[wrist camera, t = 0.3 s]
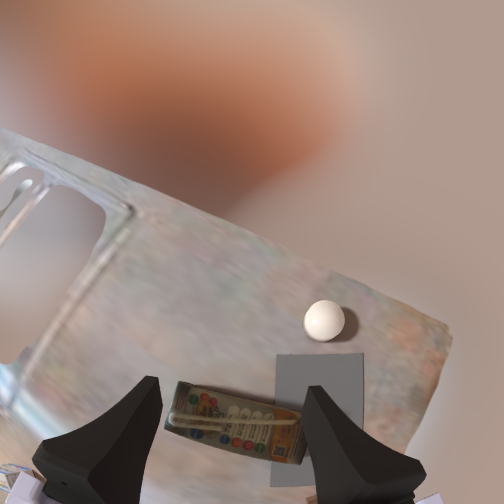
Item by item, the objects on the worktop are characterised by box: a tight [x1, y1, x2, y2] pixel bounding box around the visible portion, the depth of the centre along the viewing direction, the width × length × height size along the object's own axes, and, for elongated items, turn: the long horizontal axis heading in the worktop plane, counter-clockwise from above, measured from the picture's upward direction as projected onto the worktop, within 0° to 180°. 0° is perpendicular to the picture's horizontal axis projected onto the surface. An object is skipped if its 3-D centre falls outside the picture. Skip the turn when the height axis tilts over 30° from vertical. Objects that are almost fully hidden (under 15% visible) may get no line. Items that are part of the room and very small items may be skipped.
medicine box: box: [0, 464, 34, 493], centre depth 21 cm, size 8×4×9 cm, turn 105°
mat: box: [270, 353, 363, 487], centre depth 36 cm, size 22×14×1 cm, turn 177°
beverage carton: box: [163, 381, 307, 465], centre depth 33 cm, size 8×19×7 cm, turn 75°
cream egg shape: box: [302, 300, 345, 343], centre depth 42 cm, size 6×6×4 cm
